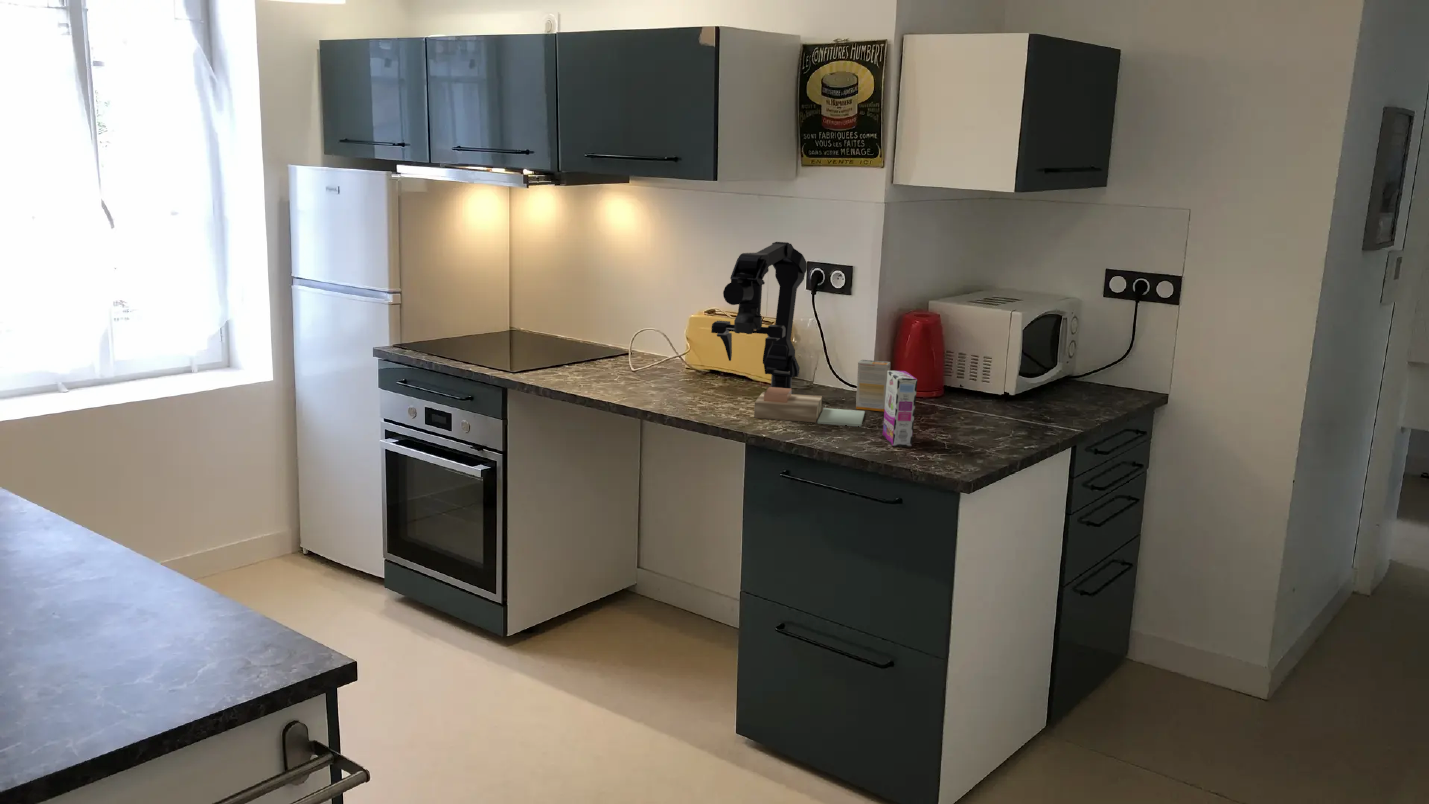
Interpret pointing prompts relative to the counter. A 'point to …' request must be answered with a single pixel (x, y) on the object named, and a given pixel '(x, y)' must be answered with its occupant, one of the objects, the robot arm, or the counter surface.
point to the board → (790, 408)
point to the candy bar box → (899, 408)
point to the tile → (777, 394)
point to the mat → (841, 417)
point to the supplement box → (871, 385)
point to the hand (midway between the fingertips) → (746, 362)
